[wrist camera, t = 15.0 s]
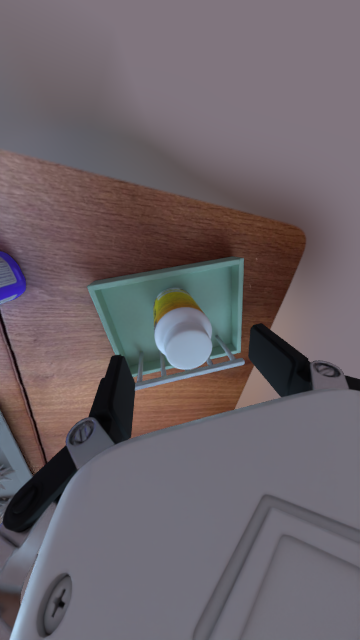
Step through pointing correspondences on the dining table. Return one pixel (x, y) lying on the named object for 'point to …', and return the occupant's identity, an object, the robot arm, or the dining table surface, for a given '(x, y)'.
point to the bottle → (10, 279)
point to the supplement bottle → (181, 329)
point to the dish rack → (138, 321)
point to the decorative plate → (10, 466)
